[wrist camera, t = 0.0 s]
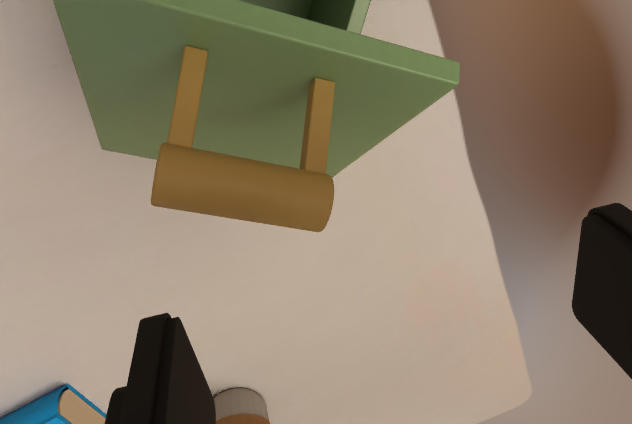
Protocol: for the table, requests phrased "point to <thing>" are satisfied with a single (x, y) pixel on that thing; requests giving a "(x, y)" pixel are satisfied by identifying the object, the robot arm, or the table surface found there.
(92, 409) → the book
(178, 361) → the robot arm
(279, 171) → the lid
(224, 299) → the table surface
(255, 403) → the coffee cup
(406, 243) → the table surface
